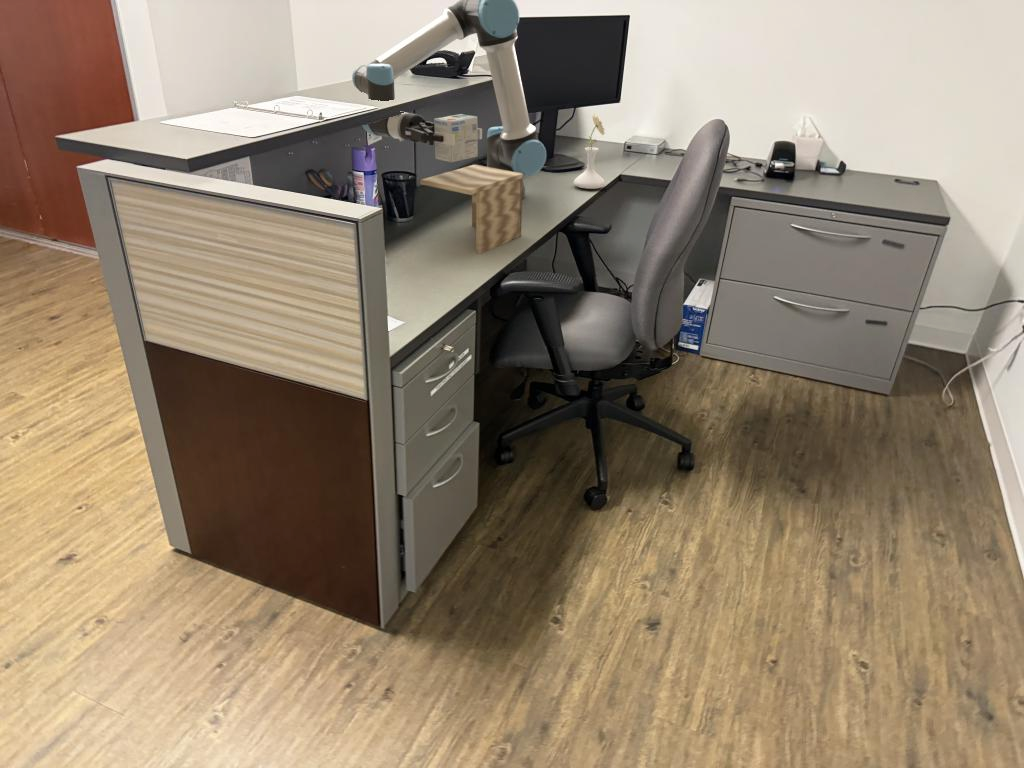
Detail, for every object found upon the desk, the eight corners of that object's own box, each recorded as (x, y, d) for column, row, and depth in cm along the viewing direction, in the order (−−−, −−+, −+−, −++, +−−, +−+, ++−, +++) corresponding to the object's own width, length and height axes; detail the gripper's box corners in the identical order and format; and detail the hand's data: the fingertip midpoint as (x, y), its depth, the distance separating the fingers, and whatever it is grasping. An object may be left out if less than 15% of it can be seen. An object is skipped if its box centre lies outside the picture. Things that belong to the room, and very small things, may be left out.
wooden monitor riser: (474, 225, 230) (474, 164, 221) (521, 235, 221) (522, 173, 213) (422, 244, 212) (420, 179, 203) (470, 257, 204) (470, 190, 195)
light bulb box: (461, 153, 213) (460, 113, 208) (478, 156, 209) (478, 116, 204) (434, 158, 206) (433, 117, 201) (451, 162, 202) (451, 121, 197)
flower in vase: (603, 192, 268) (610, 119, 256) (572, 190, 269) (576, 117, 257) (605, 183, 279) (611, 113, 267) (575, 181, 281) (579, 111, 269)
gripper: (435, 134, 224) (494, 144, 213) (379, 146, 207) (439, 158, 196) (434, 108, 220) (494, 117, 209) (377, 118, 203) (439, 128, 192)
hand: (467, 137), depth 202 cm, fingers closed on light bulb box, 11 cm apart
